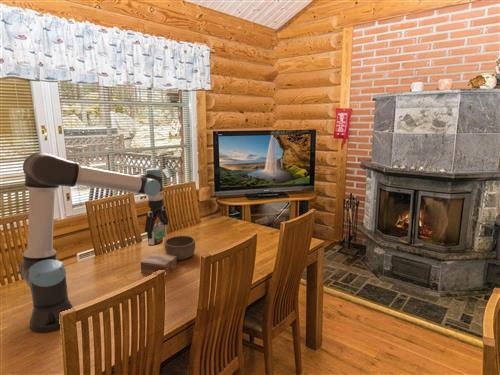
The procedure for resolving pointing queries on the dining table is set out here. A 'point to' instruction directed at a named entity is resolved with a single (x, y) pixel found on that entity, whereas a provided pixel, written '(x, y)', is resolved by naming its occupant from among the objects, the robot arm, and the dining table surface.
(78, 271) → the dining table surface
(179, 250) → the bowl
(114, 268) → the dining table surface
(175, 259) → the walnut block
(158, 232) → the food container
